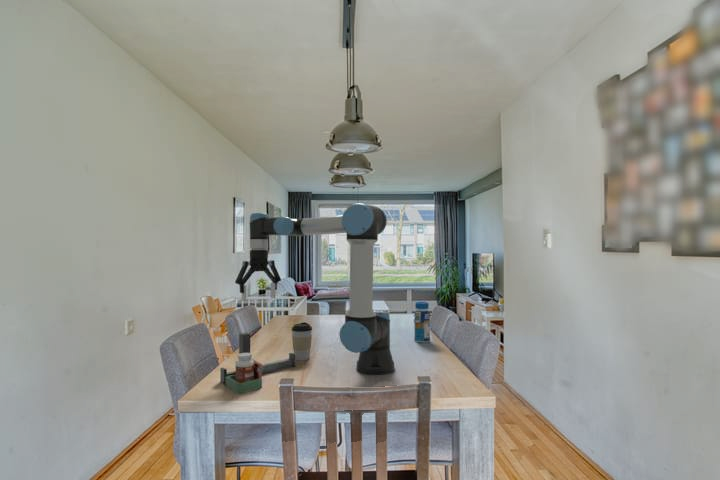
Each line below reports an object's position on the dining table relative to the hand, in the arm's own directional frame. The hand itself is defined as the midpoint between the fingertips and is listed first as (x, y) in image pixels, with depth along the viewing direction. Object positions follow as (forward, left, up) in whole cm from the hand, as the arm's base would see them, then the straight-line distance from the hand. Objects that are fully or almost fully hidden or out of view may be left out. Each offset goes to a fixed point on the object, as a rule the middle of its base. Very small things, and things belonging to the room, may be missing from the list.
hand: (258, 299), depth 165 cm
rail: (-14, +7, -27) cm, 31 cm away
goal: (-22, +18, -27) cm, 39 cm away
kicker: (-19, +13, -26) cm, 35 cm away
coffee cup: (-7, -17, -27) cm, 33 cm away
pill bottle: (-22, +17, -27) cm, 39 cm away
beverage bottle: (-24, -80, -27) cm, 88 cm away
